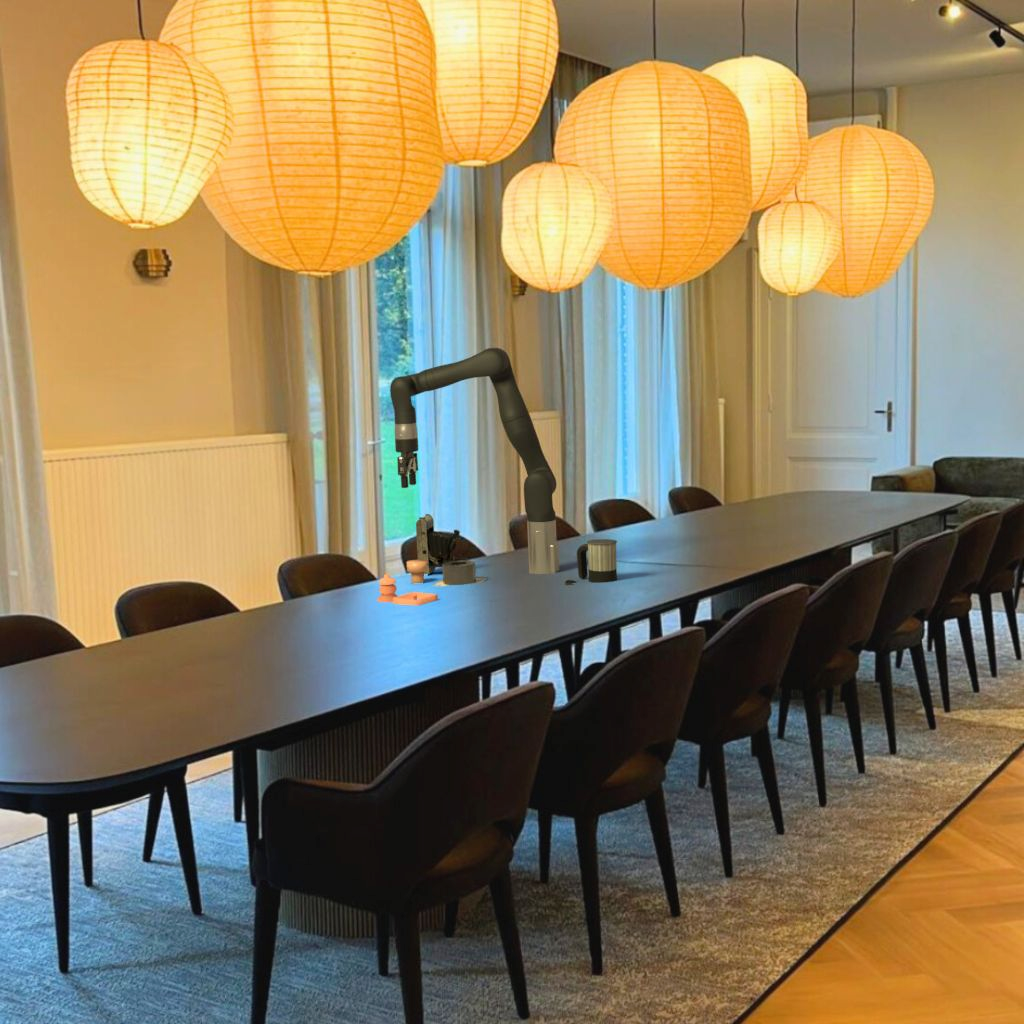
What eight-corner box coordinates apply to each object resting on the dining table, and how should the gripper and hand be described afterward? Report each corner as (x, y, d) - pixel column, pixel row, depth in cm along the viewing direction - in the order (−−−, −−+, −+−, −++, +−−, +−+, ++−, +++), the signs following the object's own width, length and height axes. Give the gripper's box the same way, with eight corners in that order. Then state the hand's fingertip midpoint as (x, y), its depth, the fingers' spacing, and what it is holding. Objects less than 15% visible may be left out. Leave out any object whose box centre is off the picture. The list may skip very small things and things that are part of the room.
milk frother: (623, 586, 404) (621, 539, 402) (604, 596, 390) (603, 547, 388) (579, 584, 410) (578, 537, 408) (560, 594, 396) (558, 545, 394)
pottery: (438, 608, 383) (436, 575, 382) (417, 614, 376) (416, 580, 374) (390, 603, 394) (389, 570, 392) (369, 609, 386) (368, 576, 385)
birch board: (487, 582, 419) (487, 578, 419) (474, 591, 405) (474, 586, 405) (445, 582, 423) (445, 577, 422) (431, 590, 409) (431, 586, 409)
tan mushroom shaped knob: (430, 584, 420) (429, 559, 419) (424, 588, 414) (422, 563, 413) (412, 584, 422) (410, 559, 421) (404, 588, 416) (403, 563, 415)
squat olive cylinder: (479, 579, 417) (478, 560, 416) (469, 585, 408) (469, 566, 407) (449, 578, 420) (448, 560, 419) (439, 584, 411) (438, 565, 410)
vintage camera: (463, 577, 430) (460, 517, 428) (418, 577, 433) (414, 517, 431) (470, 572, 440) (467, 513, 437) (425, 572, 443) (422, 513, 440)
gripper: (410, 438, 425) (413, 488, 427) (423, 435, 438) (426, 483, 441) (388, 439, 426) (391, 489, 429) (402, 435, 440) (404, 483, 442)
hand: (409, 486), depth 435 cm, fingers open, 8 cm apart
